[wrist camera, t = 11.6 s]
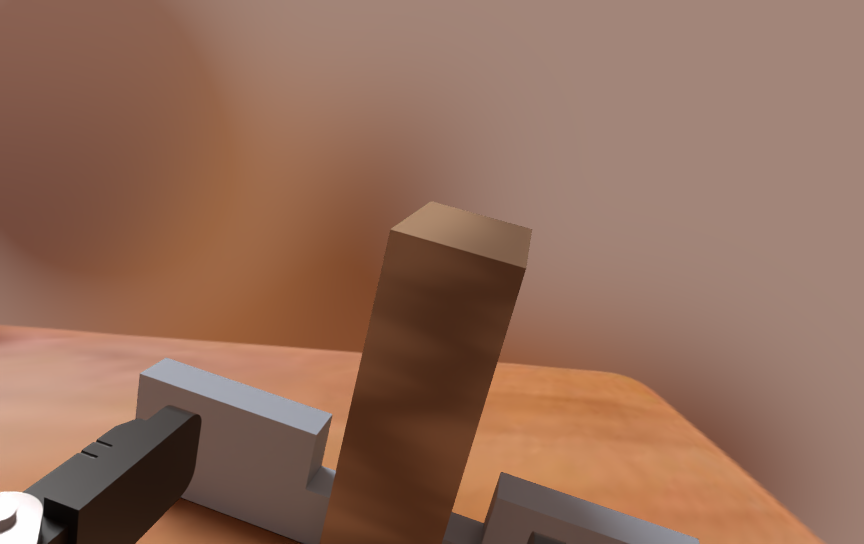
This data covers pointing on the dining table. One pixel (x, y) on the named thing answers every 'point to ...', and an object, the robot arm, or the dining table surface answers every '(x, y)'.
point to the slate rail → (312, 483)
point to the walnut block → (424, 374)
